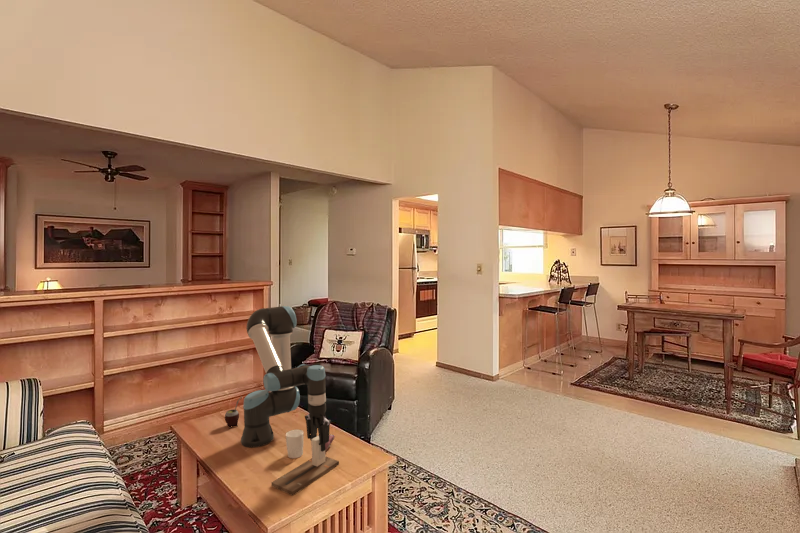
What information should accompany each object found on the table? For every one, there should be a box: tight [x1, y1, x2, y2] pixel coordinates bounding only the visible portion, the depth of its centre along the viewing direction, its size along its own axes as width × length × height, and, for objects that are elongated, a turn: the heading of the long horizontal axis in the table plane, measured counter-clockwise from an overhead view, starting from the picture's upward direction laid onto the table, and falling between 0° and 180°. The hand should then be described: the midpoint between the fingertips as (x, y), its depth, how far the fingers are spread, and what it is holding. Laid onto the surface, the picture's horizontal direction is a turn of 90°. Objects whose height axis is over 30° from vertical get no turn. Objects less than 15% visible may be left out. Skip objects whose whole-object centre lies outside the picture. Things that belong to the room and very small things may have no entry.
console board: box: [271, 455, 340, 497], centre depth 166 cm, size 12×26×2 cm, turn 146°
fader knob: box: [310, 434, 326, 466], centre depth 172 cm, size 3×5×11 cm, turn 146°
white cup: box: [285, 429, 304, 459], centre depth 183 cm, size 8×8×10 cm
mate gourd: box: [224, 396, 243, 428], centre depth 216 cm, size 8×8×15 cm
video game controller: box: [325, 433, 336, 451], centre depth 189 cm, size 10×5×7 cm, turn 170°
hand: (318, 456), depth 172 cm, fingers closed on fader knob, 3 cm apart
